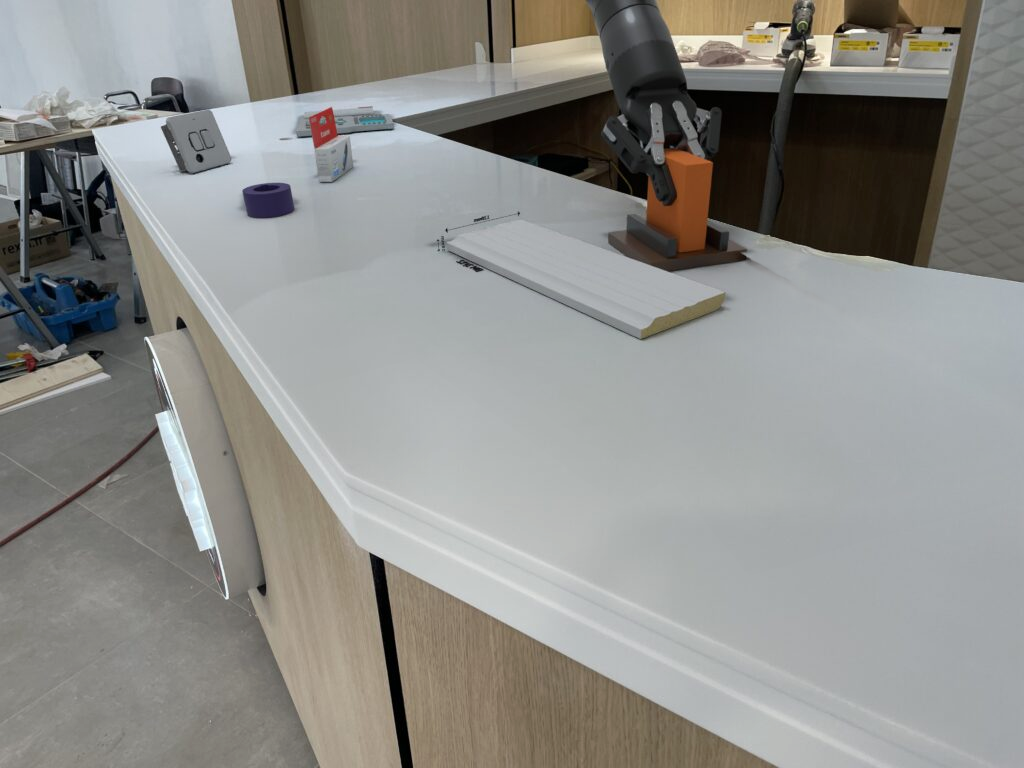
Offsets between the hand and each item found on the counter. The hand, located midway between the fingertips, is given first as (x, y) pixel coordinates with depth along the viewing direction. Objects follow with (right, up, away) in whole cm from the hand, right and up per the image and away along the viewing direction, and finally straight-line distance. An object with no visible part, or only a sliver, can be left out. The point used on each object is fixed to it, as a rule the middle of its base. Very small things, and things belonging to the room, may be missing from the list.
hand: (686, 199), depth 76 cm
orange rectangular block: (0, -3, +4) cm, 5 cm away
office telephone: (-55, +38, +85) cm, 108 cm away
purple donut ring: (-53, +6, +27) cm, 60 cm away
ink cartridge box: (-47, +15, +44) cm, 66 cm away
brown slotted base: (0, -5, +5) cm, 6 cm away
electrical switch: (-72, +18, +52) cm, 91 cm away
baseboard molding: (-13, -8, -1) cm, 15 cm away
